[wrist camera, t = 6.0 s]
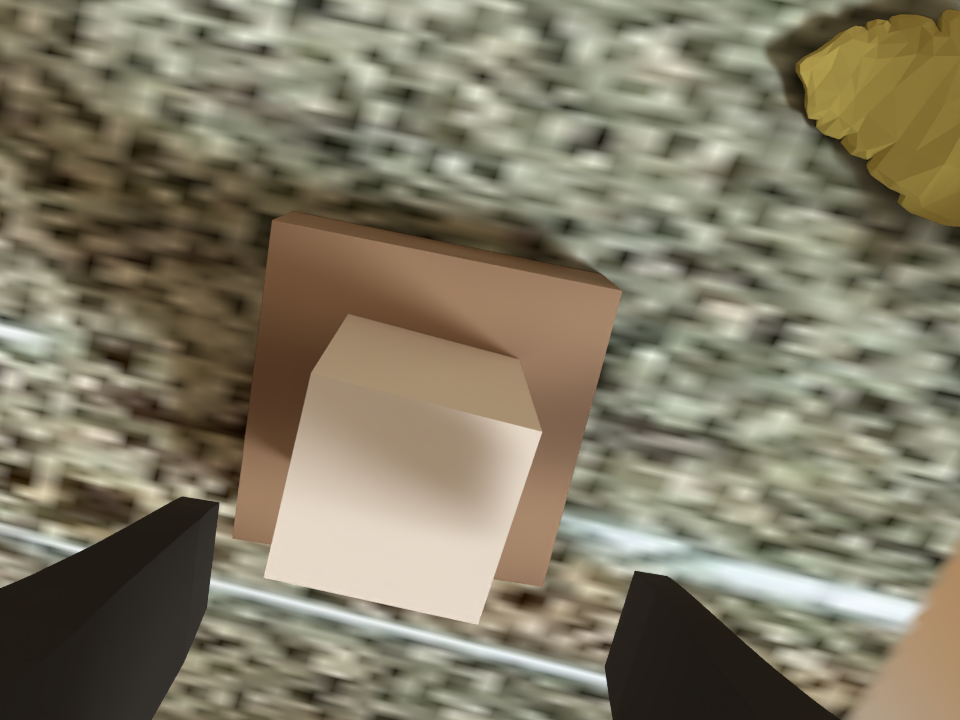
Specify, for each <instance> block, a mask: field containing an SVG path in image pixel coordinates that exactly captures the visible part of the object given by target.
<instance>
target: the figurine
mask: <svg viewBox="0 0 960 720" xmlns="http://www.w3.org/2000/svg"><path fill="white" fill-rule="evenodd" d="M796 73H797V75H798V76H799V78H800V80H801V81H802V83H803V87H804V90H805V101H804V106H805V109H806V112H807V115H808V118H809V119H816V128H817V129H818V130H819V131H821V132H822V133H823V134H825V135H828V136H830V137H833V138H836V139H841V138H842V137H843V138H842V140H841V144H842V145H843V146H844V147H845V149H846V150H847V151H848V152H849V153H850V154H851V155H854V156H857V157H860V158H863V159H866V160H867V159H869V160H868V162H867V164H866V166H867V169H868V171H869V173H870V175H872V176H873V177H874V178H876V179H877V180H878V181H880V182H881V183H882V184H884V185H885V186H886V187H888V188H889V189H891V190H894V191H896V192H898V193H900V196H899V199H898V202H897V203H898V204H900V205H901V206H902V207H903V208H905V209H906V210H907V211H908V212H910V213H912V214H914V215H917V216H920V217H923V218H925V219H928V220H931V221H934V222H936V223H939V224H942V225H945V226H958V227H960V11H957V10H949V9H947V10H945V11H944V12H943V13H942V14H941V16H940V18H939V20H938V22H937V26H936V24H935V23H934V21H933V20H932V19H930V18H927V17H923V16H920V15H907V14H901V15H896V16H892V17H891V18H890V19H889V20H888V21H886V20H881V19H876V20H872V21H869V22H867V23H866V24H865V26H864V27H861V26H854V27H852V28H850V29H848V30H845V31H843V32H840V33H838V34H837V35H836V36H835V37H833V38H832V39H831V40H830V41H829V42H827V43H826V44H824V45H823V46H822V47H820V48H819V49H817V50H816V51H814V52H812V53H810V54H808V55H806V56H804V57H803V58H802V59H801V60H799V61H798V62H797V63H796Z"/></svg>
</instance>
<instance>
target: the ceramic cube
mask: <svg viewBox="0 0 960 720" xmlns="http://www.w3.org/2000/svg"><path fill="white" fill-rule="evenodd" d="M541 434H542V429H541V426H540V423H539V420H538V417H537V414H536V411H535V408H534V404H533V401H532V398H531V395H530V392H529V389H528V386H527V383H526V379H525V376H524V373H523V370H522V367H521V364H520V361H519V359H516V358H513V357H509V356H505V355H501V354H498V353H494V352H490V351H486V350H483V349H479V348H475V347H471V346H468V345H464V344H460V343H456V342H452V341H449V340H445V339H441V338H437V337H434V336H430V335H426V334H422V333H419V332H415V331H411V330H407V329H404V328H400V327H396V326H392V325H388V324H385V323H381V322H377V321H373V320H370V319H366V318H362V317H358V316H354V315H351V314H348V315H347V317H346V318H345V320H344V321H343V323H342V325H341V326H340V328H339V329H338V331H337V333H336V334H335V336H334V337H333V339H332V340H331V342H330V344H329V345H328V347H327V348H326V350H325V352H324V353H323V355H322V356H321V358H320V360H319V361H318V363H317V364H316V366H315V368H314V369H313V371H312V372H311V376H310V380H309V384H308V389H307V393H306V397H305V402H304V406H303V410H302V415H301V419H300V423H299V428H298V432H297V436H296V440H295V445H294V449H293V453H292V458H291V462H290V466H289V471H288V475H287V479H286V484H285V488H284V492H283V497H282V501H281V505H280V510H279V514H278V518H277V523H276V527H275V531H274V536H273V540H272V544H271V549H270V553H269V557H268V562H267V566H266V570H265V575H264V578H268V579H272V580H277V581H281V582H286V583H290V584H295V585H299V586H304V587H309V588H313V589H318V590H322V591H327V592H331V593H336V594H340V595H345V596H350V597H354V598H359V599H363V600H368V601H372V602H377V603H381V604H386V605H391V606H395V607H400V608H404V609H409V610H413V611H418V612H422V613H427V614H432V615H436V616H441V617H445V618H450V619H454V620H459V621H463V622H468V623H473V624H477V625H478V623H479V620H480V617H481V614H482V611H483V608H484V605H485V602H486V599H487V596H488V593H489V590H490V587H491V584H492V581H493V578H494V575H495V572H496V569H497V566H498V563H499V560H500V557H501V554H502V551H503V548H504V545H505V542H506V539H507V536H508V533H509V530H510V527H511V524H512V521H513V518H514V515H515V512H516V509H517V506H518V503H519V500H520V497H521V494H522V491H523V488H524V485H525V482H526V479H527V476H528V473H529V470H530V467H531V464H532V461H533V458H534V455H535V452H536V449H537V446H538V443H539V440H540V437H541Z"/></svg>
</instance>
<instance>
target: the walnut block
mask: <svg viewBox="0 0 960 720" xmlns="http://www.w3.org/2000/svg"><path fill="white" fill-rule="evenodd" d="M621 294H622V290H621V289H619V288H618V287H617V286H616V285H615V284H613V283H612V282H611V281H610V280H608V279H607V278H606V277H605V276H604V275H602V274H598V273H593V272H589V271H584V270H579V269H574V268H569V267H564V266H559V265H554V264H549V263H544V262H539V261H535V260H530V259H525V258H520V257H515V256H510V255H505V254H500V253H495V252H490V251H486V250H481V249H476V248H471V247H466V246H461V245H456V244H451V243H446V242H441V241H437V240H432V239H427V238H422V237H417V236H412V235H407V234H402V233H397V232H392V231H388V230H383V229H378V228H373V227H368V226H363V225H358V224H353V223H348V222H343V221H338V220H334V219H329V218H324V217H319V216H314V215H309V214H304V213H299V212H294V211H293V212H291V213H288V214H286V215H283V216H281V217H278V218H276V219H274V220H272V225H271V233H270V241H269V249H268V257H267V265H266V273H265V281H264V289H263V297H262V305H261V313H260V321H259V329H258V337H257V345H256V354H255V362H254V370H253V378H252V386H251V394H250V402H249V410H248V418H247V426H246V434H245V442H244V450H243V458H242V466H241V474H240V482H239V490H238V498H237V506H236V514H235V522H234V530H233V539H240V540H246V541H252V542H259V543H265V544H272V540H273V536H274V531H275V527H276V523H277V518H278V514H279V510H280V505H281V501H282V497H283V492H284V488H285V484H286V479H287V475H288V471H289V466H290V462H291V458H292V453H293V449H294V445H295V440H296V436H297V432H298V428H299V423H300V419H301V415H302V410H303V406H304V402H305V397H306V393H307V389H308V384H309V380H310V376H311V372H312V371H313V369H314V368H315V366H316V364H317V363H318V361H319V360H320V358H321V356H322V355H323V353H324V352H325V350H326V348H327V347H328V345H329V344H330V342H331V340H332V339H333V337H334V336H335V334H336V333H337V331H338V329H339V328H340V326H341V325H342V323H343V321H344V320H345V318H346V317H347V315H348V314H351V315H354V316H358V317H362V318H366V319H370V320H373V321H377V322H381V323H385V324H388V325H392V326H396V327H400V328H404V329H407V330H411V331H415V332H419V333H422V334H426V335H430V336H434V337H437V338H441V339H445V340H449V341H452V342H456V343H460V344H464V345H468V346H471V347H475V348H479V349H483V350H486V351H490V352H494V353H498V354H501V355H505V356H509V357H513V358H516V359H519V361H520V364H521V367H522V370H523V373H524V376H525V379H526V383H527V386H528V389H529V392H530V395H531V398H532V401H533V404H534V408H535V411H536V414H537V417H538V420H539V423H540V426H541V429H542V434H541V437H540V440H539V443H538V446H537V449H536V452H535V455H534V458H533V461H532V464H531V467H530V470H529V473H528V476H527V479H526V482H525V485H524V488H523V491H522V494H521V497H520V500H519V503H518V506H517V509H516V512H515V515H514V518H513V521H512V524H511V527H510V530H509V533H508V536H507V539H506V542H505V545H504V548H503V551H502V554H501V557H500V560H499V563H498V566H497V569H496V572H495V575H494V578H493V579H496V580H502V581H509V582H515V583H521V584H528V585H534V586H541V587H543V584H544V580H545V576H546V573H547V569H548V565H549V561H550V558H551V554H552V550H553V547H554V543H555V539H556V535H557V532H558V528H559V524H560V521H561V517H562V513H563V509H564V506H565V502H566V498H567V495H568V491H569V487H570V483H571V480H572V476H573V472H574V469H575V465H576V461H577V457H578V454H579V450H580V446H581V443H582V439H583V435H584V431H585V428H586V424H587V420H588V416H589V413H590V409H591V405H592V402H593V398H594V394H595V390H596V387H597V383H598V379H599V376H600V372H601V368H602V364H603V361H604V357H605V353H606V350H607V346H608V342H609V338H610V335H611V331H612V327H613V324H614V320H615V316H616V312H617V309H618V305H619V301H620V297H621Z"/></svg>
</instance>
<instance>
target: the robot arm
mask: <svg viewBox="0 0 960 720" xmlns="http://www.w3.org/2000/svg"><path fill="white" fill-rule="evenodd" d="M218 511H219V502H213V501H206V500H200V499H194V498H188V497H180V498H178V499H176V500H174V501H172V502H170V503H169V504H167V505H165V506H163V507H161V508H160V509H158V510H156V511H154V512H152V513H151V514H149V515H147V516H145V517H144V518H142V519H140V520H138V521H136V522H135V523H133V524H131V525H129V526H127V527H126V528H124V529H122V530H120V531H118V532H116V533H115V534H113V535H111V536H109V537H107V538H105V539H104V540H102V541H100V542H98V543H96V544H94V545H92V546H90V547H89V548H86V549H84V550H82V551H80V552H78V553H76V554H74V555H72V556H70V557H68V558H66V559H64V560H62V561H60V562H58V563H55V564H53V565H51V566H49V567H47V568H45V569H43V570H41V571H39V572H37V573H35V574H33V575H30V576H28V577H26V578H24V579H21V580H19V581H17V582H14V583H12V584H9V585H7V586H5V587H2V588H0V720H152V718H153V716H154V714H155V713H156V711H157V709H158V707H159V706H160V704H161V702H162V700H163V699H164V697H165V695H166V693H167V692H168V690H169V688H170V686H171V684H172V683H173V681H174V679H175V677H176V676H177V674H178V672H179V670H180V668H181V667H182V665H183V663H184V661H185V659H186V656H187V654H188V652H189V649H190V647H191V645H192V642H193V640H194V638H195V635H196V633H197V630H198V628H199V625H200V623H201V621H202V618H203V616H204V613H205V611H206V608H207V602H208V594H209V585H210V577H211V569H212V561H213V552H214V544H215V536H216V527H217V519H218ZM605 672H606V679H607V686H608V694H609V700H610V706H611V712H612V717H613V720H840V719H839V718H837V717H836V716H834V715H833V714H832V713H830V712H829V711H827V710H826V709H825V708H824V707H822V706H821V705H820V704H818V703H817V702H816V701H814V700H813V699H812V698H810V697H809V696H808V695H806V694H805V693H804V692H803V691H802V690H800V689H799V688H798V687H797V686H795V685H794V684H793V683H792V682H790V681H789V680H788V679H787V678H785V677H784V676H783V675H782V674H780V673H779V672H778V671H777V670H776V669H774V668H773V667H772V666H771V665H770V664H768V663H767V662H766V661H765V660H764V659H763V658H761V657H760V656H759V655H758V654H757V653H756V652H754V651H753V650H752V649H751V648H750V647H749V646H748V645H746V644H745V643H744V642H743V641H742V640H741V639H740V638H739V637H737V636H736V635H735V634H734V633H733V632H732V631H731V630H730V629H729V628H727V627H726V626H725V625H724V624H723V623H722V622H721V621H720V620H719V619H717V618H716V617H715V616H714V615H713V614H712V613H711V612H710V611H709V610H708V609H706V608H705V607H704V606H703V605H702V604H701V603H700V602H699V601H697V600H696V599H695V598H694V597H693V596H692V595H691V594H689V593H688V592H687V591H686V590H685V589H684V588H682V587H681V586H680V585H679V584H678V583H676V582H675V581H674V580H672V579H671V578H670V577H668V576H663V575H657V574H651V573H645V572H639V571H635V572H634V575H633V578H632V581H631V584H630V588H629V591H628V594H627V597H626V600H625V604H624V607H623V610H622V613H621V616H620V620H619V623H618V626H617V629H616V632H615V636H614V639H613V642H612V645H611V648H610V651H609V655H608V658H607V661H606V664H605Z"/></svg>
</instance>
